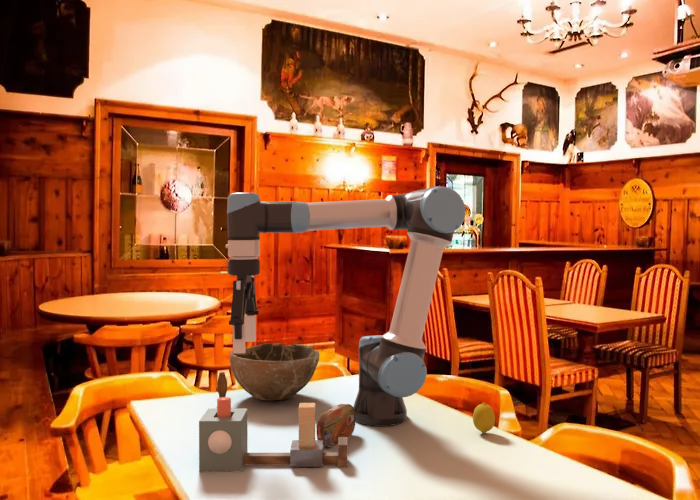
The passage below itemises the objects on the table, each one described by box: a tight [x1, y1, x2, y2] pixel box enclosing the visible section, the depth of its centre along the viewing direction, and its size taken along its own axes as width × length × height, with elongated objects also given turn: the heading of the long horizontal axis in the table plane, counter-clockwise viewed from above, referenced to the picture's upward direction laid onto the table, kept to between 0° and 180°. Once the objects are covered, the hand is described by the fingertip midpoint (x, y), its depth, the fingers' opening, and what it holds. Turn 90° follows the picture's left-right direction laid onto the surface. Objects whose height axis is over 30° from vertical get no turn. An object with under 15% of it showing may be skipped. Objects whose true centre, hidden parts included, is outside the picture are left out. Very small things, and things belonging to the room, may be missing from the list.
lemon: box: [472, 402, 496, 434], centre depth 152 cm, size 6×6×8 cm
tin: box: [315, 403, 357, 448], centre depth 146 cm, size 15×3×8 cm, turn 149°
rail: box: [243, 437, 348, 468], centre depth 132 cm, size 23×5×5 cm, turn 91°
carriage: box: [289, 402, 324, 468], centre depth 132 cm, size 7×6×13 cm
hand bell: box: [216, 371, 228, 398], centre depth 150 cm, size 8×8×16 cm
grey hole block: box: [198, 407, 248, 473], centre depth 131 cm, size 9×9×11 cm
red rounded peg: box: [216, 396, 232, 417], centre depth 131 cm, size 3×3×8 cm
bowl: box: [229, 342, 320, 402], centre depth 182 cm, size 28×27×15 cm
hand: (245, 347), depth 140 cm, fingers open, 13 cm apart
